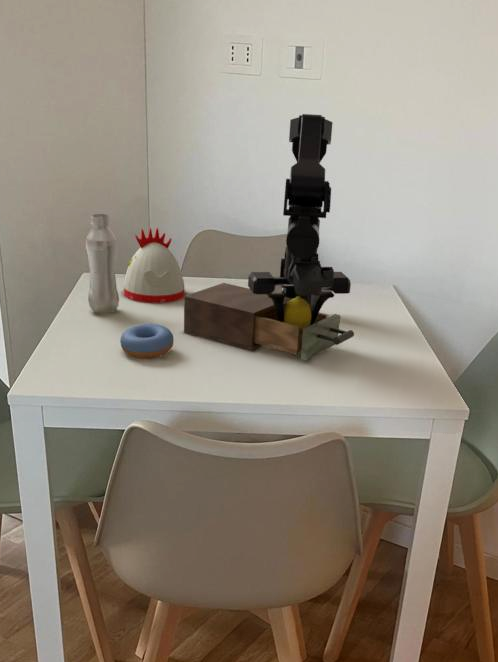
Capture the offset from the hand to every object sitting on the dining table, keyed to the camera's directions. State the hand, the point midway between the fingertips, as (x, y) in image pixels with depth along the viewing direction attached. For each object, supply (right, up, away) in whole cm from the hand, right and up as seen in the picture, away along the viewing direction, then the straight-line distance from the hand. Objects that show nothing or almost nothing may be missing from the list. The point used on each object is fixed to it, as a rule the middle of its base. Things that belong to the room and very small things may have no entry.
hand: (295, 326), depth 156 cm
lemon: (0, -2, +1) cm, 2 cm away
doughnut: (-28, -6, -4) cm, 29 cm away
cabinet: (-12, 0, +8) cm, 14 cm away
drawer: (+1, -3, +1) cm, 4 cm away
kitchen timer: (-31, +13, +31) cm, 46 cm away
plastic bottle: (-40, +6, +17) cm, 44 cm away
